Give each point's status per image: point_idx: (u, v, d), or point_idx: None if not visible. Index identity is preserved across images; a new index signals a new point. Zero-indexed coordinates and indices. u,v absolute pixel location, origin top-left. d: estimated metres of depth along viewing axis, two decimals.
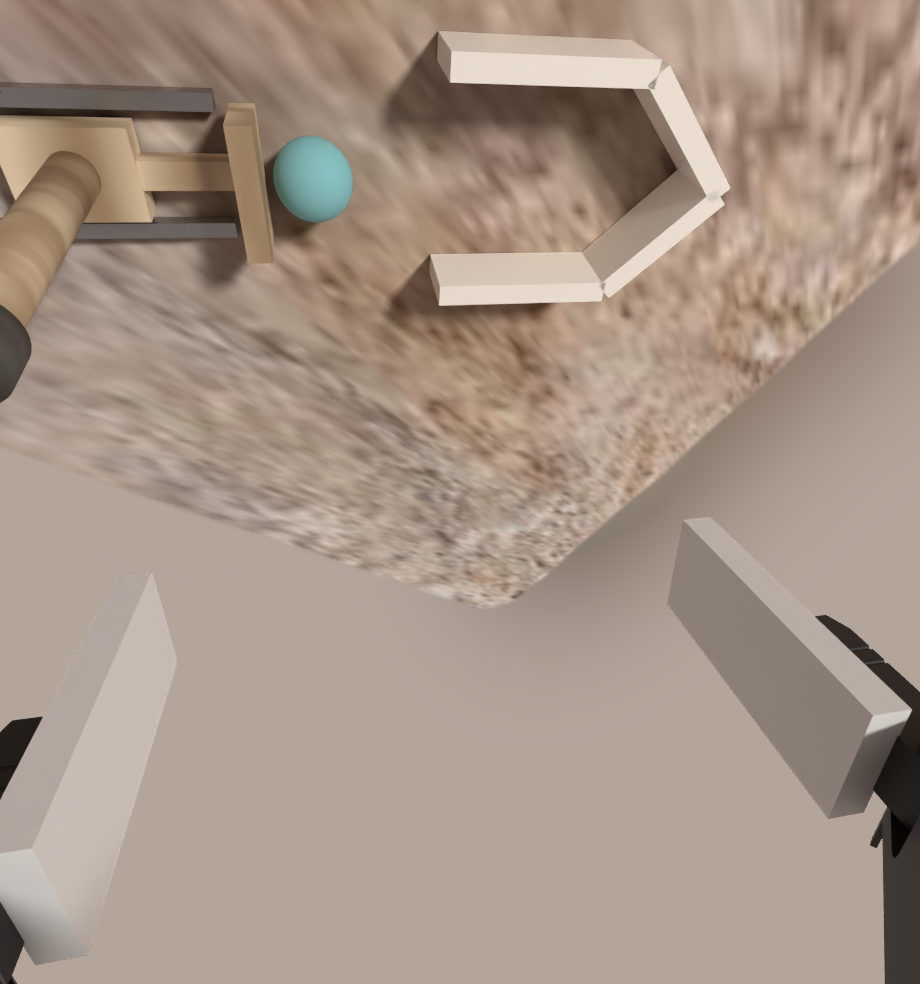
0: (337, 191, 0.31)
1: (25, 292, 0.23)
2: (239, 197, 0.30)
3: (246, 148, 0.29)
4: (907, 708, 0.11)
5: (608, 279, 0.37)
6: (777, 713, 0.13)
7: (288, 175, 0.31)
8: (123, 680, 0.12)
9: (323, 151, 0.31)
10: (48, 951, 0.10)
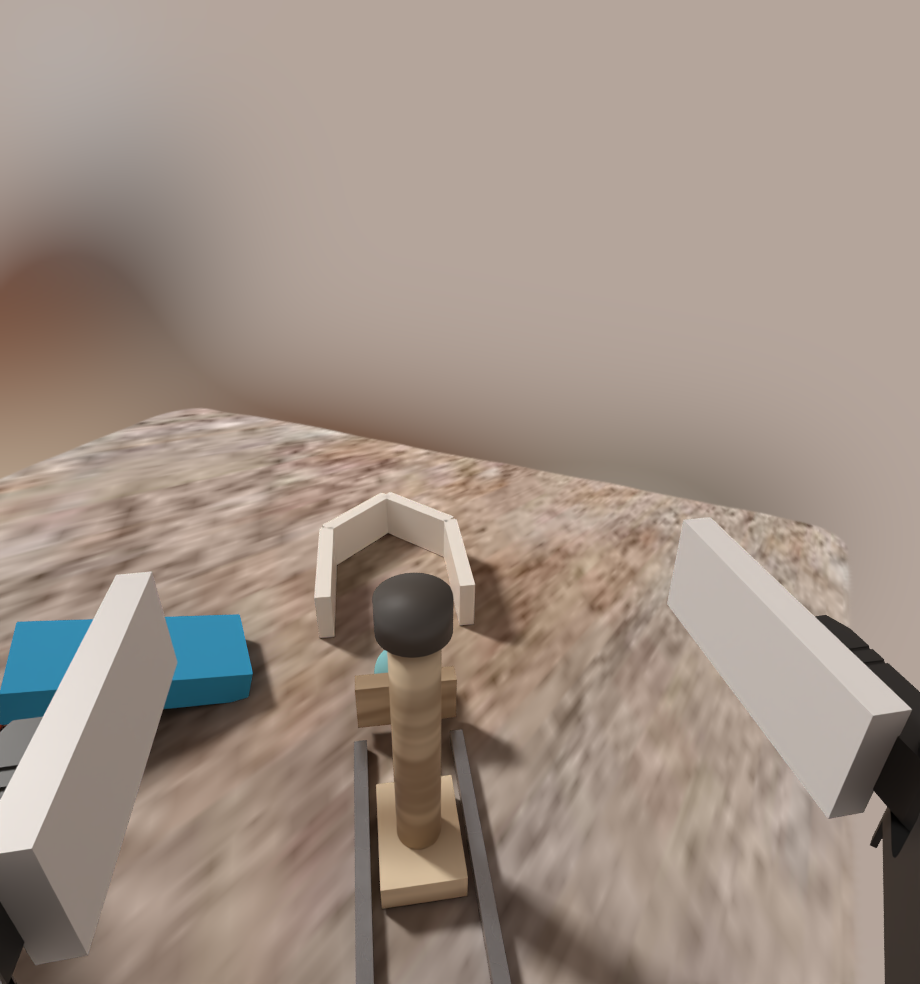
0: None
1: None
2: None
3: (369, 678, 0.40)
4: (906, 708, 0.11)
5: (441, 519, 0.58)
6: (777, 713, 0.13)
7: None
8: (123, 680, 0.12)
9: (378, 658, 0.44)
10: (49, 951, 0.10)
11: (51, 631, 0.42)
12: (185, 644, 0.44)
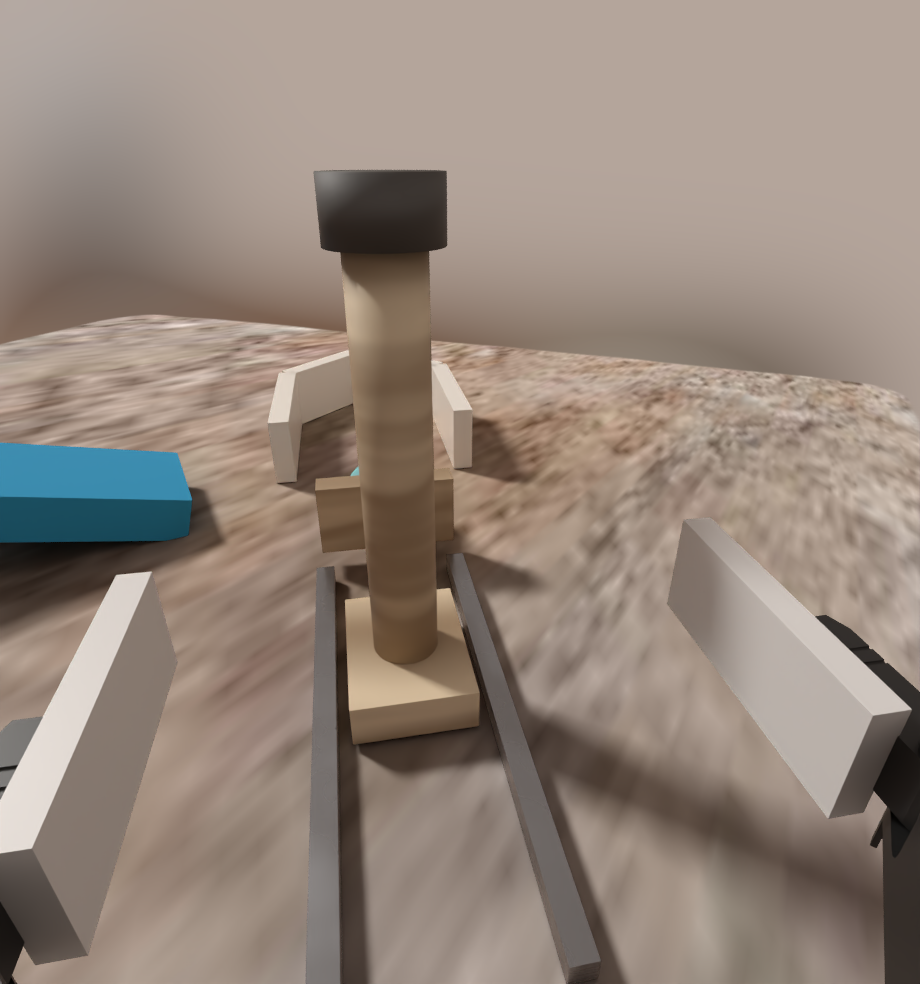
0: None
1: None
2: None
3: (335, 480, 0.30)
4: (906, 708, 0.11)
5: None
6: (777, 713, 0.13)
7: None
8: (123, 680, 0.12)
9: None
10: (49, 951, 0.10)
11: None
12: (101, 470, 0.34)
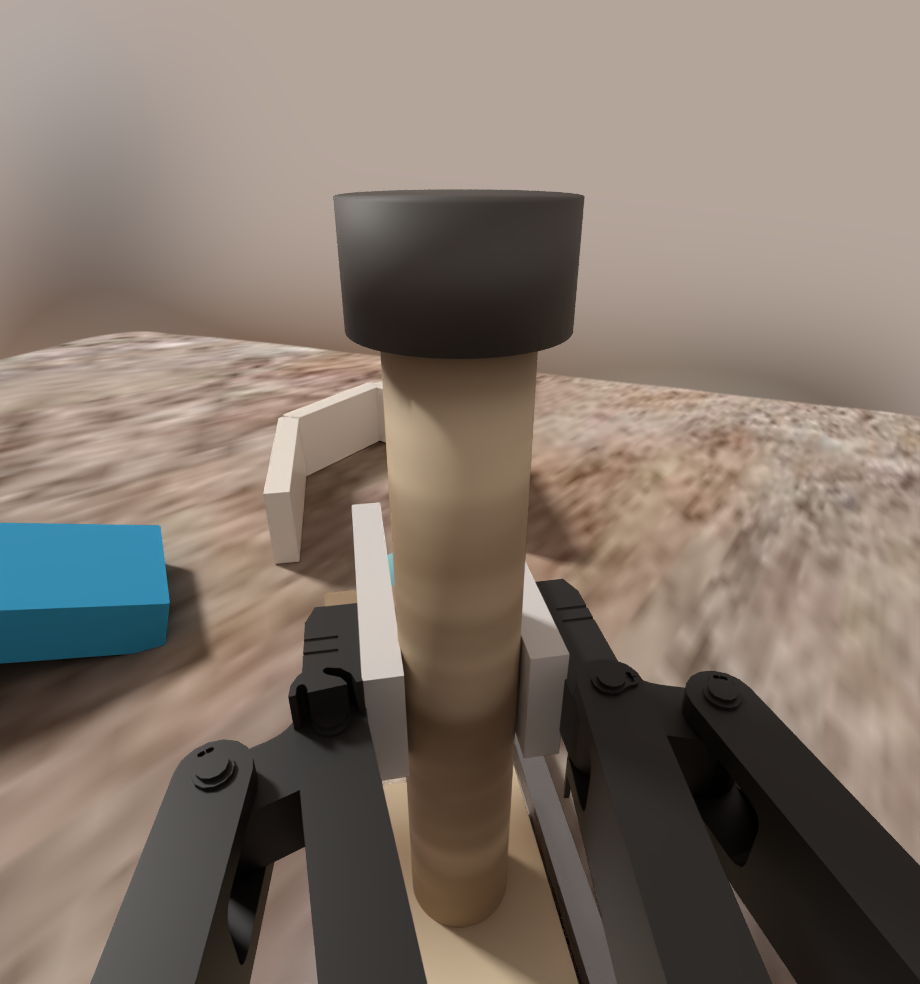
0: None
1: None
2: None
3: (351, 596, 0.22)
4: (564, 653, 0.12)
5: None
6: None
7: None
8: None
9: None
10: (385, 770, 0.12)
11: None
12: (57, 560, 0.26)
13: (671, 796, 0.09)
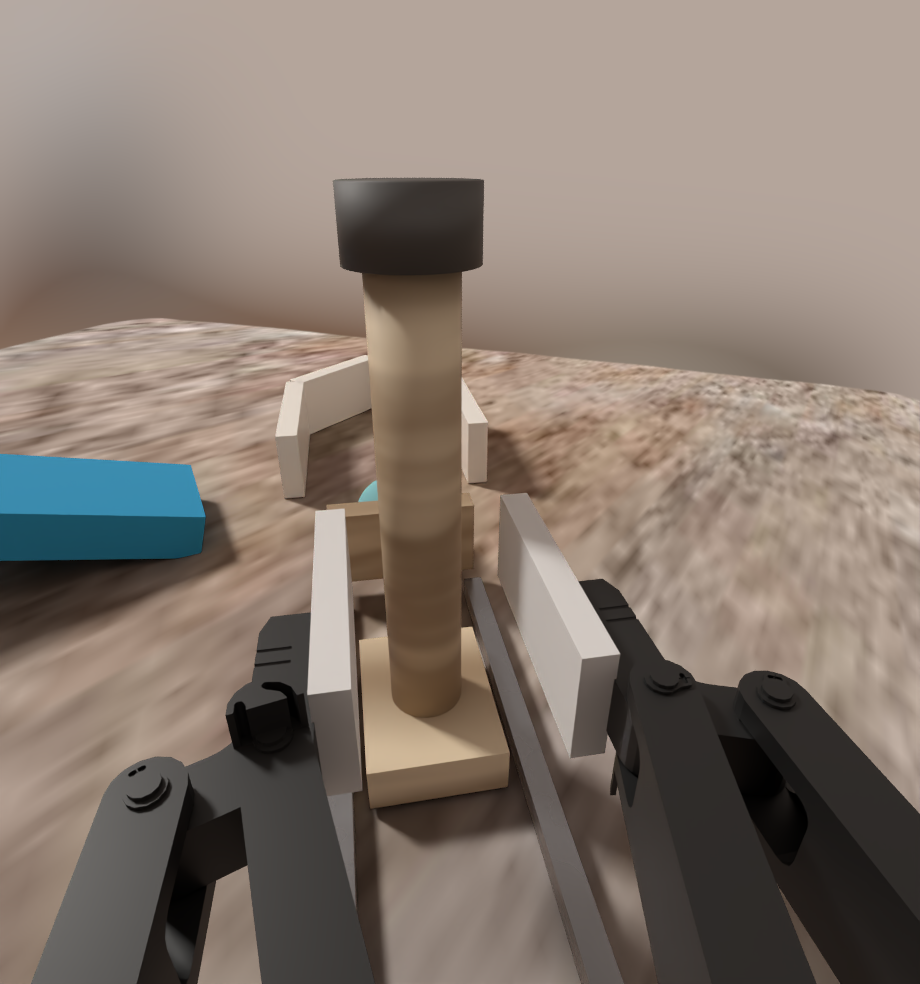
0: None
1: None
2: None
3: (347, 506, 0.28)
4: (615, 653, 0.12)
5: None
6: (546, 667, 0.14)
7: None
8: (348, 589, 0.15)
9: (361, 496, 0.32)
10: (336, 784, 0.12)
11: None
12: (112, 484, 0.33)
13: (721, 797, 0.09)
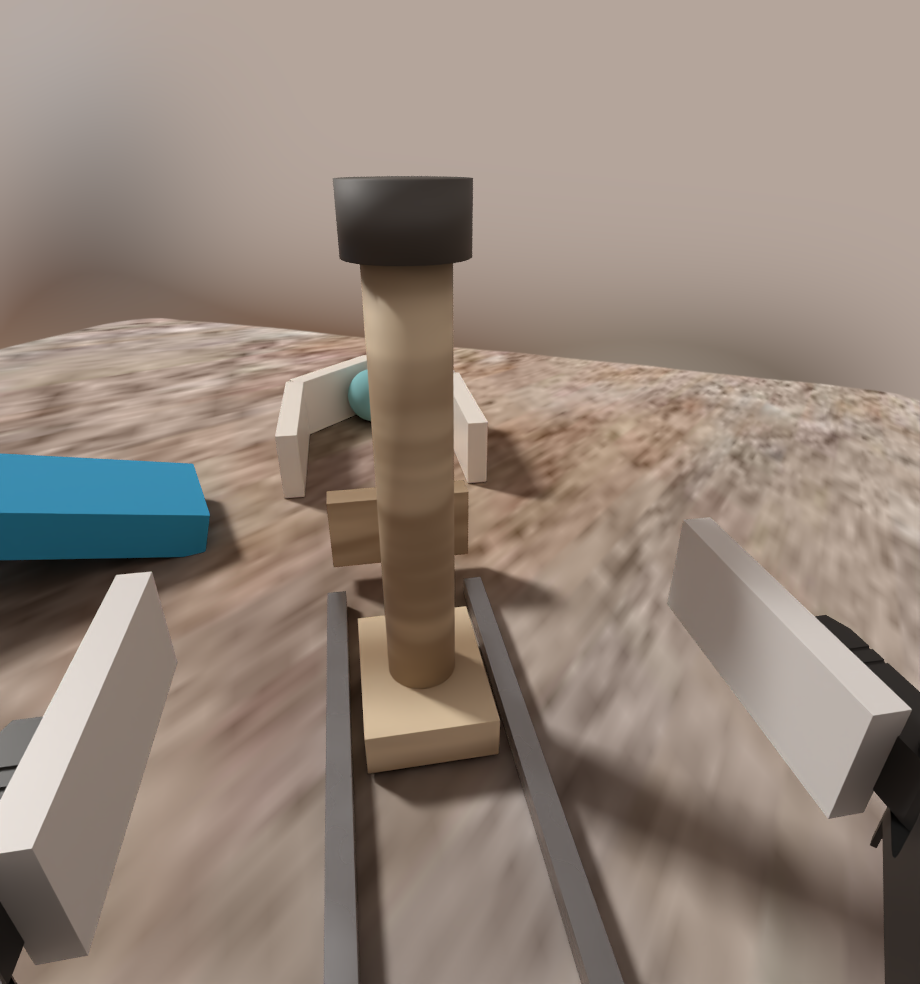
0: None
1: None
2: None
3: (347, 493, 0.29)
4: (906, 708, 0.11)
5: None
6: (777, 713, 0.13)
7: None
8: (123, 680, 0.12)
9: None
10: (49, 951, 0.10)
11: None
12: (116, 483, 0.33)
13: None
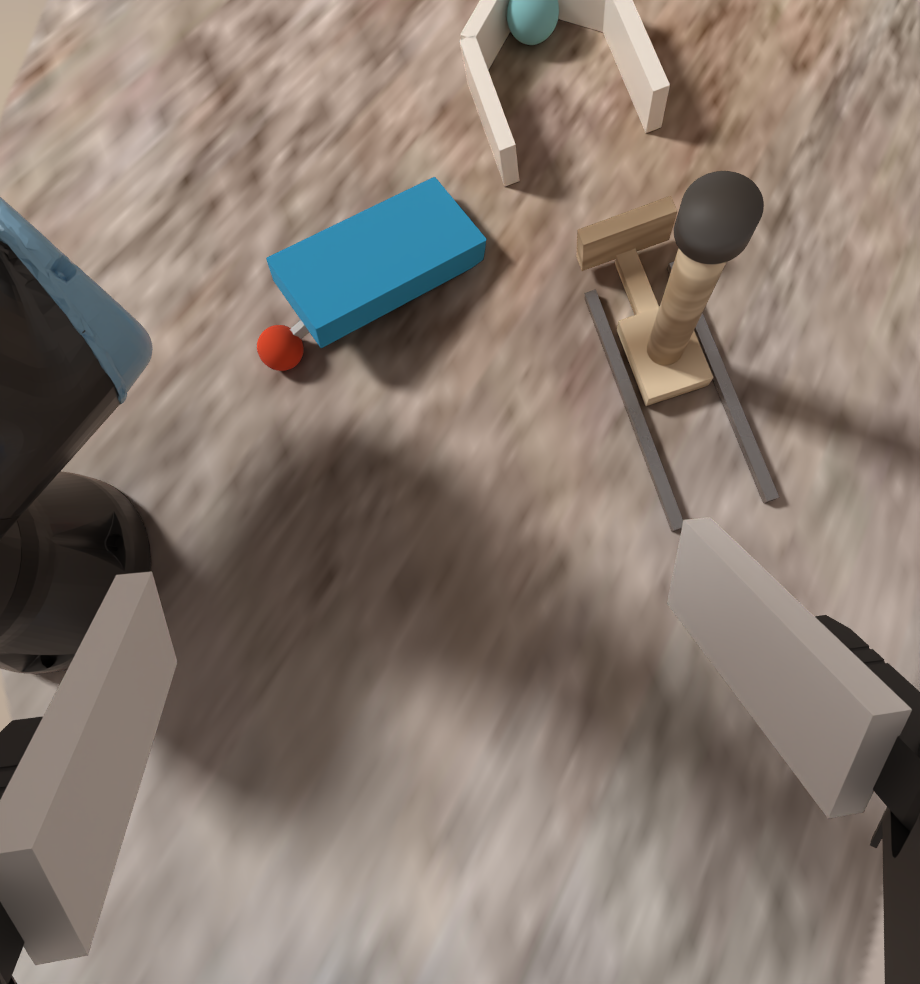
0: None
1: None
2: (627, 226, 0.42)
3: (592, 229, 0.42)
4: (907, 708, 0.11)
5: None
6: (777, 713, 0.13)
7: None
8: (123, 680, 0.12)
9: None
10: (48, 951, 0.10)
11: (299, 256, 0.45)
12: (413, 229, 0.46)
13: None
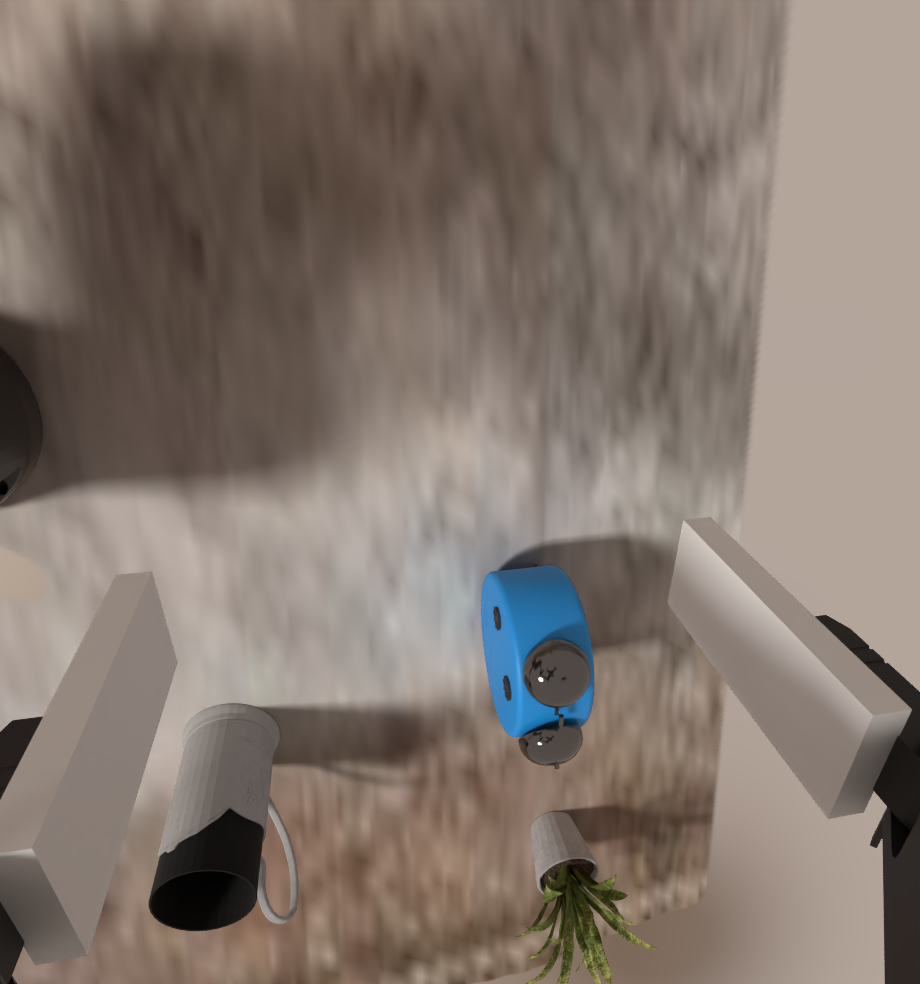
0: None
1: None
2: None
3: None
4: (907, 708, 0.11)
5: None
6: (777, 713, 0.13)
7: None
8: (123, 680, 0.12)
9: None
10: (48, 951, 0.10)
11: None
12: None
13: None
